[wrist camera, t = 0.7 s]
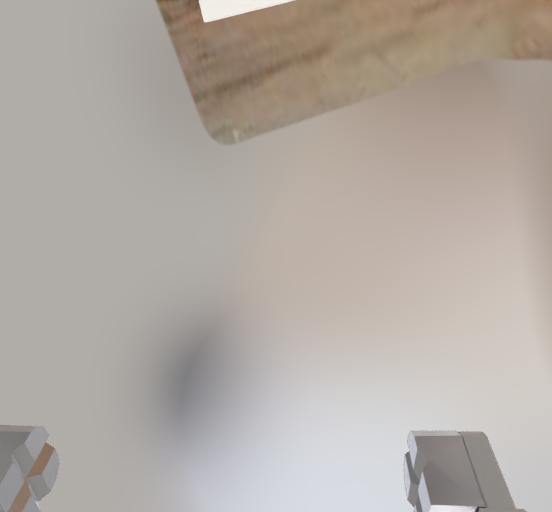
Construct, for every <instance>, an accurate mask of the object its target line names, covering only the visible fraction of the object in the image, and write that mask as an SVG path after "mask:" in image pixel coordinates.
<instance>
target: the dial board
mask: <svg viewBox="0 0 552 512" xmlns="http://www.w3.org/2000/svg"><path fill="white" fill-rule="evenodd" d="M290 1H294V0H199V4H200V8H201V12H202V16H203V20H204V22H210V21H214V20H218V19H222V18H226V17H230V16H234V15H238V14H242V13H246V12H250V11H254V10H258V9H262V8H266V7H270V6H274V5H278V4H282V3H286V2H290Z"/></svg>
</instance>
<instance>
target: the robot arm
mask: <svg viewBox="0 0 552 512" xmlns="http://www.w3.org/2000/svg"><path fill="white" fill-rule="evenodd" d="M48 436H49V435H48V433H47V432H46V430H45V428H44V427H41V426H10V425H0V512H41V511H40V506H39V501H40V500H41V499H42V498H43V497H44V496H46V495H47V494H48V493H49V492H50V491H51V489H52V487H53V484H54V482H55V480H56V477H57V472H58V467H59V460H58V454H57V452H56V450H55V448H54V447H52V446H51V445H49V444H47V443H46V440H47V438H48ZM407 443H408V448H409V452H408V453H406V454H405V458H404V481H405V489H406V495H407V500H408V501H409V502H410V503H411V504H412V506H413V507H414V512H526V511H525V510H524V509H516V507H515V505H514V502H513V500H512V497H511V495H510V492H509V490H508V487H507V485H506V483H505V480H504V477H503V475H502V472H501V470H500V468H499V465H498V463H497V460H496V458H495V455H494V453H493V450H492V448H491V445H490V443H489V440H488V438H487V436H486V435H485V434H484V433H483V432H457V431H411V432H410V433H409V435H408V440H407Z"/></svg>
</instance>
